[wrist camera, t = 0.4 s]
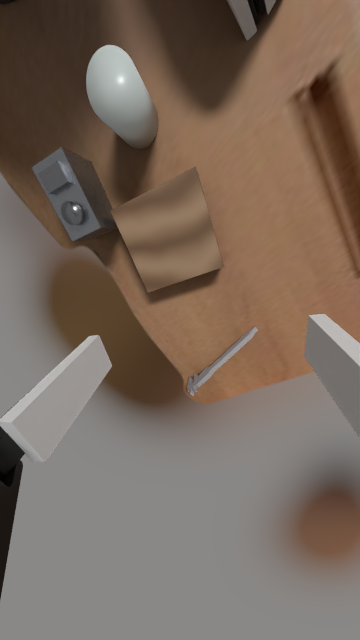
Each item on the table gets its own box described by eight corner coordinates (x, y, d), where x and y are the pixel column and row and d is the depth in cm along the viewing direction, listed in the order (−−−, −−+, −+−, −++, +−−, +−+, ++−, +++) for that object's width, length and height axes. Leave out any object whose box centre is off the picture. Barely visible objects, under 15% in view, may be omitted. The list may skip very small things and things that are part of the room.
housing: (66, 178, 33) (25, 165, 25) (91, 162, 31) (55, 144, 24) (96, 238, 36) (68, 242, 29) (120, 226, 35) (97, 227, 28)
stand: (121, 211, 33) (110, 210, 30) (197, 173, 29) (195, 166, 26) (153, 286, 39) (147, 292, 35) (222, 262, 35) (223, 266, 31)
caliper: (192, 379, 48) (189, 399, 43) (188, 376, 48) (185, 396, 43) (257, 328, 40) (264, 346, 34) (254, 325, 39) (260, 342, 34)
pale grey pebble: (111, 107, 28) (75, 68, 20) (147, 81, 26) (122, 29, 19) (130, 156, 30) (104, 136, 23) (164, 136, 28) (148, 107, 21)
